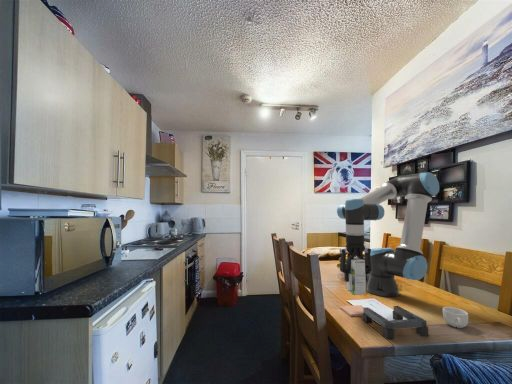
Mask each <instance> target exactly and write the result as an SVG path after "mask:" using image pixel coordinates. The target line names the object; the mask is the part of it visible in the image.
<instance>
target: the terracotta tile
mask: <svg viewBox="0 0 512 384" xmlns="http://www.w3.org/2000/svg"><path fill="white" fill-rule="evenodd" d="M363 308H365V306H363V305H362V304H361V305H360V304H357V305H354V304H353V305H341V306H339V309H340V310H342V311H343V313H345V314H347V315H348V316H349V317H363V313H364V312H363Z"/></svg>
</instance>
